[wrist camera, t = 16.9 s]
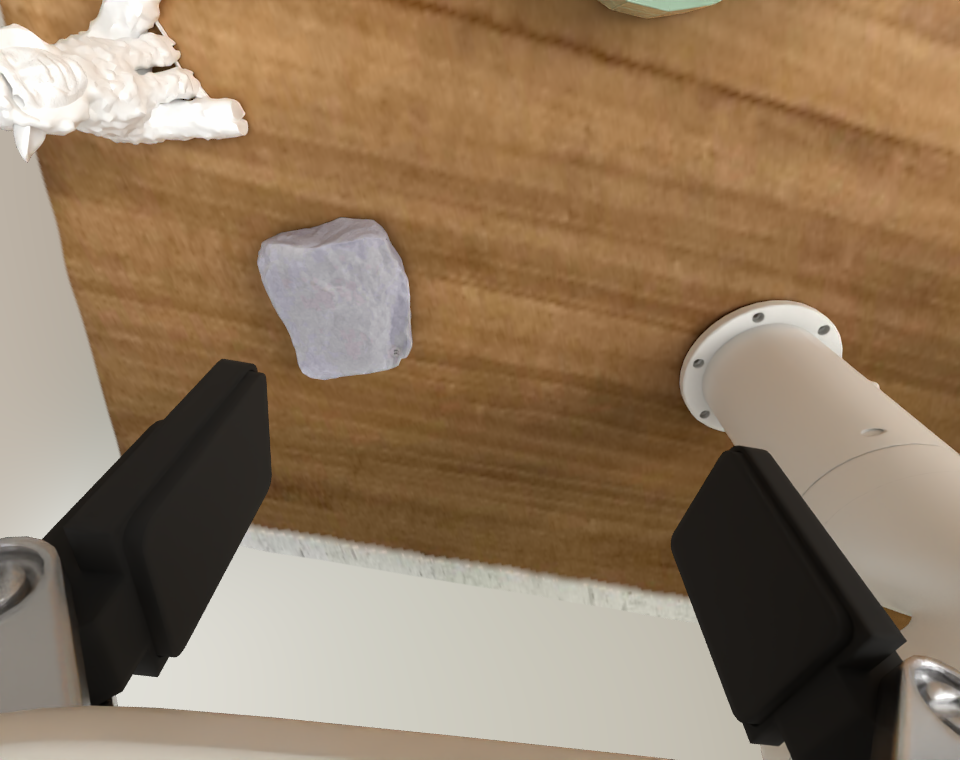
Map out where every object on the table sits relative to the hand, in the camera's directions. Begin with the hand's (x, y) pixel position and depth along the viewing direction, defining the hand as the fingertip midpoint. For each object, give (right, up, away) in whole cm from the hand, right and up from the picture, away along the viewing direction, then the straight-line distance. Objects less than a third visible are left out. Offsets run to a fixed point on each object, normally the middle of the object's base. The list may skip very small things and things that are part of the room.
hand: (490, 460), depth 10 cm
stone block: (-10, +9, +29) cm, 32 cm away
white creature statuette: (-21, +21, +21) cm, 36 cm away
